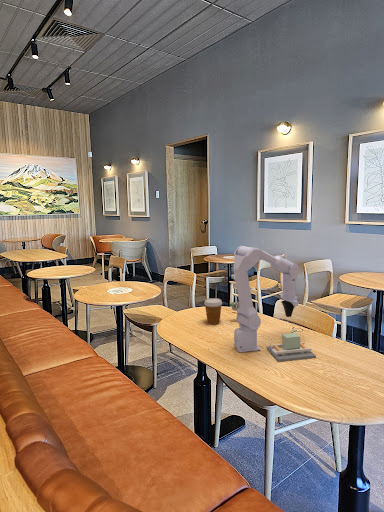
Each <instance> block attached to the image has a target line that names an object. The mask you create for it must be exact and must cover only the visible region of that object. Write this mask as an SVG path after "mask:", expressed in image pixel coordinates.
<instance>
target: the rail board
mask: <svg viewBox="0 0 384 512" xmlns="http://www.w3.org/2000/svg"><path fill="white" fill-rule="evenodd" d="M265 347H266V350H267V352H268V353H270V354H271V356H272V357H273V359H275V360H276V362H277V363H279V362H280V363H281V362H290V361H298V360H299V361H300V360H307V359H316V358H317V356H316V354H315V353H314V352H313V351H312V347H308V346H306V345H305V341H300V349H294V350H284V349H283V348H282V343H279V344H271V345H269V346H265Z"/></svg>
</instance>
